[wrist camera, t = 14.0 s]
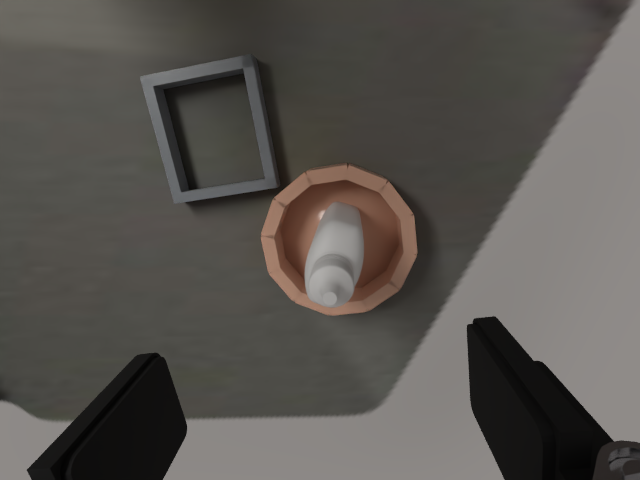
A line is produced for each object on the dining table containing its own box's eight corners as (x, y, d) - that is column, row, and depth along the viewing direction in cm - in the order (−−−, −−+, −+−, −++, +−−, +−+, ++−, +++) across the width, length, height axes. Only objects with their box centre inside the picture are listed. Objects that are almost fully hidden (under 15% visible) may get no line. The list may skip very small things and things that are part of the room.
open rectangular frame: (150, 80, 27) (139, 76, 25) (256, 58, 26) (251, 53, 24) (182, 200, 29) (174, 203, 28) (280, 185, 28) (277, 187, 27)
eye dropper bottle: (381, 229, 27) (405, 290, 16) (332, 275, 29) (322, 362, 17) (342, 191, 27) (337, 226, 15) (294, 240, 28) (257, 306, 17)
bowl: (260, 176, 28) (248, 180, 25) (400, 153, 27) (408, 154, 23) (286, 302, 31) (278, 321, 28) (413, 287, 30) (422, 305, 26)
